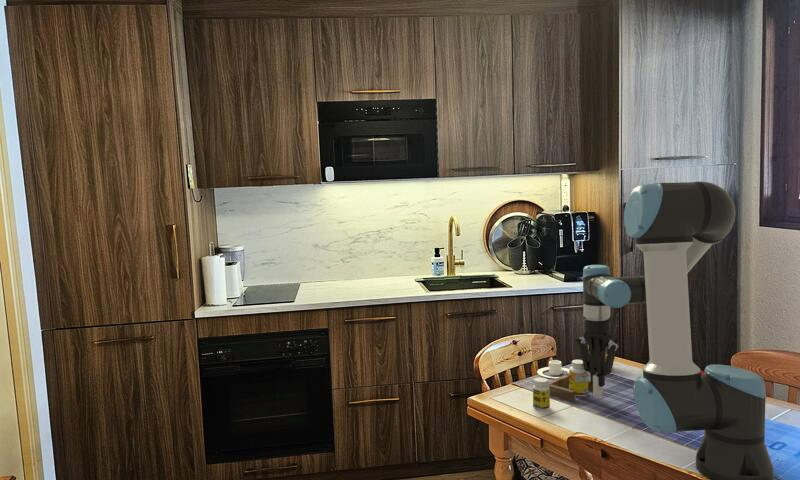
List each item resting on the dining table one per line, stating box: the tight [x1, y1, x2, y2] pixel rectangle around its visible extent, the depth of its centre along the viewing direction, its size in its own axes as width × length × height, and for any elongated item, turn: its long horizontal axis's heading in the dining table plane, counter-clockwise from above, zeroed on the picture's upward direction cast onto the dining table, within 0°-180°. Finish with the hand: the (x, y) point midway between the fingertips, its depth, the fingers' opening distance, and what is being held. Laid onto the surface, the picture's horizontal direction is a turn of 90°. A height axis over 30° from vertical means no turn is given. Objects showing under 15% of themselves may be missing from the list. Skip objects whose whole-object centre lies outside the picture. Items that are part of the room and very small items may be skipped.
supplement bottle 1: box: [532, 377, 551, 411], centre depth 176 cm, size 5×5×8 cm
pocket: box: [548, 373, 593, 403], centre depth 188 cm, size 13×10×3 cm
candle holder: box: [536, 359, 569, 379], centre depth 206 cm, size 12×12×4 cm
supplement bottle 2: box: [568, 359, 589, 397], centre depth 186 cm, size 6×6×10 cm
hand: (597, 396), depth 180 cm, fingers closed
